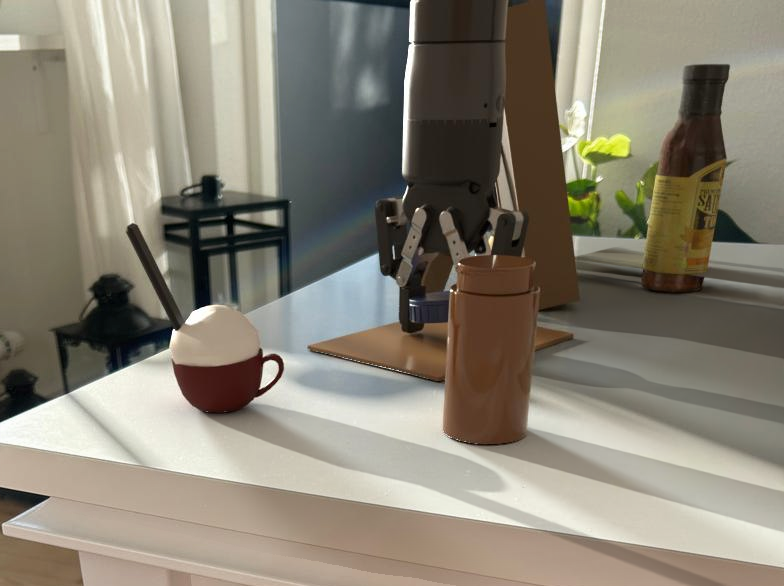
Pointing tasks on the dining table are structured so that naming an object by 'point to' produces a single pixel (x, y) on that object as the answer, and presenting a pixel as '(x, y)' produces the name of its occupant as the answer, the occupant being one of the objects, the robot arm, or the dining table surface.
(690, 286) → the sauce bottle
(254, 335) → the cocoa
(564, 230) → the photo frame
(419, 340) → the mat
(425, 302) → the lid
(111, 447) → the dining table surface
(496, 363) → the jar
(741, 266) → the dining table surface
